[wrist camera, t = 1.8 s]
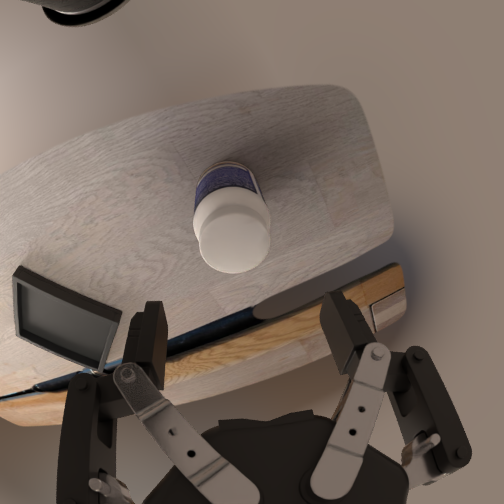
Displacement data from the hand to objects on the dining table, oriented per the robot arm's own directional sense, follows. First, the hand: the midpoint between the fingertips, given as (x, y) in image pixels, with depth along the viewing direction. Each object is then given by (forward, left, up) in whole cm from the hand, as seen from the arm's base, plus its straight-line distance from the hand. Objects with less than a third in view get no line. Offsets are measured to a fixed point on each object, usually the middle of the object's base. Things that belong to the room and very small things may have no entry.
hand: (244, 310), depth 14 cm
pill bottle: (0, 0, -16) cm, 16 cm away
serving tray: (-12, -27, -16) cm, 33 cm away
